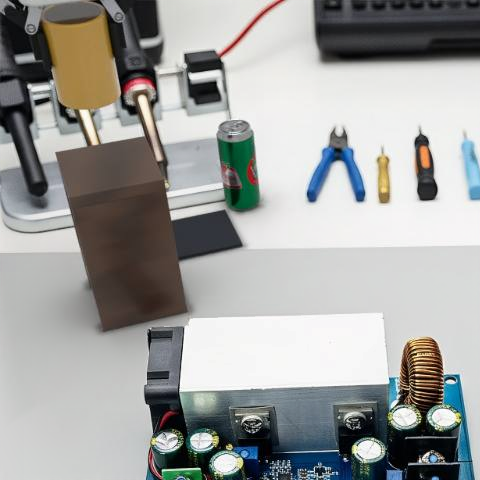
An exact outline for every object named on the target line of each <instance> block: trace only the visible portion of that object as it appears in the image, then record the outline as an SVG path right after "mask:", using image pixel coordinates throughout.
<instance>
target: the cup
mask: <svg viewBox="0 0 480 480" xmlns="http://www.w3.org/2000/svg"><path fill="white" fill-rule="evenodd" d="M106 13H107V9H106V8H105V7H104V5H101V4H99V3H97V2H94V1H83V2H76V3H68V4H60V5H52V6H46V7H45V8H43V10H42V14H41V18H40V22H39V23H40V24H41V26H42V30H43V32H44V35H45V40H46V44H47V48H48V53H49V57H50V61H51V65H52V69H51V72H52V78H53V82H54V86H55V90H56V95H57V99H58V102H59V103H60V104H61V105H62V106H64V107H66V108H68V109H72V110H80V111H88V110H89V111H91V110H96V109H101V108H105V107H108V106H110V105H112V104H114V103H115V102H117V101H118V100H119V99H120V97H121V95H122V90H121V85H120V79H119V74H118V73H119V72H118V67H117V63H116V59H115V57H114V52H113V47H112V41H111V36H110V31H109V25H108V20H107V14H106Z"/></svg>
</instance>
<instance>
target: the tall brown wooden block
mask: <svg viewBox="0 0 480 480" xmlns="http://www.w3.org/2000/svg"><path fill="white" fill-rule="evenodd" d="M54 153H55V158H56V161H57V165H58V171H59V173H60V177H61V181H62V185H63V189H64V192H65V196H66V201H67V205H68V209H69V212H70V216H71V220H72V223H73V227H74V231H75V235H76V239H77V243H78V247H79V250H80V254H81V259H82V262H83V266H84V270H85V274H86V277H87V282H88V285H89V288H91V290H92V295H93V298H94V302H95V305H96V311H97V313H98V317H99V322H100V325H101V329H102V332H107V331H111V330H115V329H120V328H124V327H128V326H133V325H137V324H141V323H145V322H150V321H153V320H154V321H155V320H158V319H162V318H168V317H171V316H176V315H179V314H180V315H181V314H184V313H188V305H187V300H186V294H185V290H184V283H183V278H182V277H183V276H182V272H181V271H182V270H181V267H180V262H179V261H180V260H178V255H177V249H176V243H175V238H174V232H173V226H172V216H171V210H170V205H169V200H168V199H169V198H168V193H167V188H166V182H165V178H164V176H163V174H162V171H161V169H160V167H159V165H158V163H157V160H156V158H155V156H154V153H153V151H152V148H151V147H150V143H149V142H148V140H147V138H146V136H145V135H143V136H137V137H131V138H126V139H120V140H114V141H110V142H104V143H99V144H92V145H87V146H82V147H75V148H70V149H65V150H60V151H55V152H54Z"/></svg>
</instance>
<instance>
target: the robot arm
mask: <svg viewBox="0 0 480 480" xmlns="http://www.w3.org/2000/svg"><path fill="white" fill-rule="evenodd" d="M83 1H89V2H92V0H18V2H19V3H20V4H22V5H23V8H22V7H20V6H18V5H17V4H16V3H14V2H12V1H9V0H0V14H3V15H4V16H5V18H7V19H8V20H9V21H11V22H12V23H14V24H15V25H17V26H18V27H20V28H22V29H23V30H24V31H25V33H27V34H28V37H29V41H30V45H31V49H32V53H33V57H34V61H35V62H42V65H43V68H44V72H52V65H51V61H50V57H49V53H48V48H47V44H46V40H45V35H44V32H43V30H42V26H41V22H40V18H41V14H42V11H43V10H44V7H49V6H52V5H60V4H68V3H76V2H83ZM99 1H100V2H101V4H102V6H103V7H104V8H105V10H106V14H107V20H108V25H109V31H110V36H111V41H112V47H113V52H114V57H115V61H116V60H117V62H119V61H123V60H124V57H123V52H122V50H123V49H127V40H126V35H125V30H124V24H123V22H124V21H125V19H126V15H127V14H128V12H129V10H130V9H131V8H132V7H133V6H134V4H135V3H136V1H137V0H99Z"/></svg>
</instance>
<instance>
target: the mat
mask: <svg viewBox="0 0 480 480" xmlns="http://www.w3.org/2000/svg"><path fill="white" fill-rule="evenodd" d="M171 221H172V226H173V232H174V238H175V243H176V249H177V255H178V260H179V261H181V260H186V259H192V258H195V257H199V256H200V257H201V256H205V255H209V254H214V253H218V252H223V251H227V250H233V249H237V248H240V247H243V242H242V240H241V238H240V236H239V234H238V232H237V230H236V228H235V227H234V224H233V222H232V221H231V218H230V217H229V214H228V213H227V211H226V209H220V210H215V211H211V212H207V213H202V214H196V215H192V216H186V217H182V218H178V219H171Z"/></svg>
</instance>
